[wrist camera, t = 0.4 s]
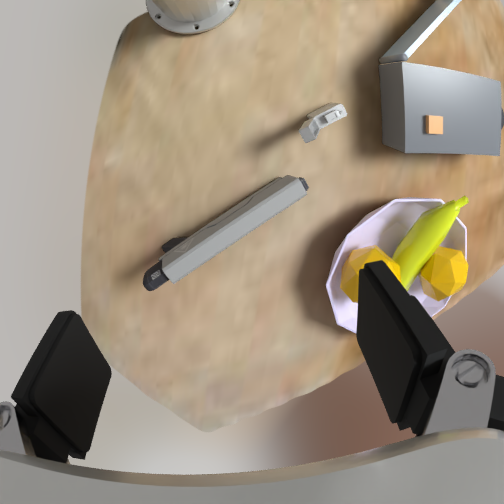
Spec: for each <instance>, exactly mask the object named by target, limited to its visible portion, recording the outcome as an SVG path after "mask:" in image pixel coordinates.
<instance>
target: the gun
mask: <svg viewBox="0 0 504 504" xmlns="http://www.w3.org/2000/svg"><path fill="white" fill-rule="evenodd" d="M308 188H309V187H308V185H307V183H306V181H305V179H304V178H301V177H299V178H296V177H293V176H290V175H286V176H285V177H283V178H282V177H279V178H277V179H276V180H274V181H273V182H271V183H269V184H268V185H266V186H265V187H263V188H262V189H260V190H259V191H257V192H255V193H254V194H252V195H251V196H249V197H248V198H246V199H245V200H243V201H242V202H240V203H239V204H237V205H236V206H234V207H233V208H231V209H230V210H228V211H227V212H225V213H224V214H222V215H221V216H219V217H218V218H216V219H215V220H213V221H212V222H210V223H209V224H207V225H206V226H204V227H203V228H201V229H200V230H198V231H197V232H196V233H194V234H193V235H191V236H190V237H188V238H173V239H171V240H170V241H169V242H167V243H166V244H164V245H163V246H162V249H163V251H164V252H165V254H164V255H163V256H161V257H160V258H159V262H158V263H157V264H155V265H154V266H153V267H151V268H150V269H148V270H147V271H146V273H145V275H144V278H143V285H144V287H145V288H146V289H147V290H148V291H153V290H155V289H157V288H158V287H159V286H161V285H162V284H164V283H165V282H167V281H168V280H170V281H171V282H172V283H173V284H175V283H176V282H177V281H179V280H180V279H182V278H183V277H185V276H186V275H188V274H189V273H191V272H192V271H194V270H195V269H196V268H198V267H199V266H201V265H202V264H204V263H205V262H207V261H208V260H210V259H211V258H213V257H214V256H216V255H217V254H219V253H220V252H222V251H223V250H225V249H226V248H228V247H229V246H230V245H232V244H233V243H235V242H236V241H238V240H239V239H241V238H242V237H244V236H245V235H247V234H248V233H250V232H251V231H253V230H254V229H256V228H257V227H259V226H260V225H262V224H263V223H265V222H266V221H268V220H269V219H271V218H272V217H274V216H275V215H277V214H278V213H280V212H281V211H283V210H284V209H286V208H288V207H289V206H291V205H292V204H294V203H295V202H297V201H298V200H300V199H301V198H303V197H304V196H306V195H307V192H306V191H307V189H308Z"/></svg>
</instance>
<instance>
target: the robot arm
mask: <svg viewBox="0 0 504 504" xmlns="http://www.w3.org/2000/svg"><path fill="white" fill-rule="evenodd" d="M239 1H240V0H146V6H147V10H148V12H149V14H150V16H151V17H152V19H153V20H154V21H155V22H156V23H157V24H158V25H159V26H161V27H163V28H164V29H166V30H169V31H171V32H174V33H179V34H196V33H202V32H205V31H209V30H211V29H213V28H216V27H218V26H219V25H221V24H222V23H224V22H225V21H226V20H227V19H228V18H229V17H231V15H232V14H233V13H234V11H235V10H236V8H237V6H238V4H239ZM229 5H233V7H230V6H229ZM159 16H161V18H160V19H158V17H159ZM195 27H199V28H198V29H197V30H196V29H195ZM356 335H357V341H358V344H359V346H360V348H361V351H362V353H363V355H364V358H365V360H366V362H367V365H368V367H369V369H370V372H371V374H372V376H373V379H374V381H375V384H376V386H377V388H378V391H379V393H380V396H381V398H382V401H383V403H384V406H385V408H386V411H387V413H388V416H389V419H390V421H391V422H392V423H396V422H397V424H398V427H399V429H400V430H403V429H406V428H409V427H411V430H412V432H413V433H414V434H416V436H415V437H414V438H411V439H408V440H404V441H400V442H397V443H393V444H389V445H386V446H382V447H379V448H375V449H371V450H368V451H364V452H360V453H356V454H352V455H348V456H343V457H339V458H334V459H329V460H324V461H319V462H314V463H309V464H303V465H297V466H291V467H285V468H278V469H270V470H261V471H252V472H240V473H225V474H202V475H170V474H145V473H132V472H121V471H112V470H103V469H96V468H89V467H82V466H77V465H71V464H70V463H69V460H68V455H70V456H71V457H73V458H78V459H85V456H86V452H88V451H89V450H90V447H91V443H92V439H93V435H94V432H95V428H96V425H97V421H98V417H99V414H100V411H101V407H102V404H103V401H104V397H105V394H106V391H107V388H108V385H109V382H110V378H111V368H110V366H109V364H108V363H107V361H106V360H105V358H104V356H103V355H102V353H101V351H100V350H99V348H98V346H97V345H96V343H95V341H94V340H93V338H92V336H91V335H90V333H89V331H88V329H87V328H86V326H85V324H84V322H83V320H82V318H81V317H80V315H78V314H76V313H75V312H74V311H63V312H58V314H57V315H56V316H55V318H54V320H53V321H52V323H51V324H50V326H49V328H48V329H47V331H46V333H45V334H44V336H43V338H42V340H41V341H40V343H39V345H38V347H37V349H36V350H35V352H34V353H33V355H32V357H31V359H30V361H29V363H28V365H27V366H26V368H25V370H24V372H23V374H22V376H21V378H20V379H19V381H18V383H17V385H16V387H15V389H14V391H13V393H12V396H11V398H12V399H13V400H14V401H15V402H16V403H17V405H16V406H15V407H14V406H13V405H12V404H11V403H10V402H1V403H0V504H504V377H502V376H499V375H496V373H495V367H494V364H493V362H492V361H491V360H490V359H489V357H488V356H486V355H485V354H483V353H482V352H479V351H476V350H470V349H466V350H460V351H458V352H456V353H455V351H454V350H453V349H452V347H451V345H450V344H449V343H448V341H447V340H446V338H445V337H444V335H443V334H442V332H441V331H440V330H439V328H438V327H437V325H436V324H435V322H434V321H433V320H432V318H431V317H430V315H429V314H428V313H427V311H426V310H425V309H424V307H423V306H422V305H421V303H420V302H419V301H418V299H417V298H416V297H415V296H412V295H411V296H410V295H409V293H408V292H407V291H406V289H405V288H404V287H403V285H402V284H401V283H400V281H399V280H398V279H397V277H396V276H395V275H394V273H393V272H392V271H391V270H390V268H389V267H388V266H387V265H386V263H385V262H384V261H383V260H379V261H374V262H369V263H365V264H364V268H363V269H360V270H359V284H358V311H357V330H356Z"/></svg>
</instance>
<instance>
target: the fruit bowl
mask: <svg viewBox="0 0 504 504" xmlns="http://www.w3.org/2000/svg"><path fill="white" fill-rule="evenodd" d="M467 203H469V202H468V198H467V197H466V196H463V197H462V198H460V199H459V200H457V201H455V200H452V201H450V202H447V203H444V202H443V201H442V200H441V199H431V198H413V197H407V198H400V199H394V200H393V201H391V202H389V203H387V204H385V205H383V206H381V207H380V208H378V209H376V210H374V211H372V212H370V213H368V214H367V215H366V216H365V217H364V218H363V219H362V220H361V221H360V222H359V223H358V224H357V225H356V226H355V227H354V228H353V229H352V230H351V231H350V232H349V233H348V235H347V236H346V237H345V239H344V240H343V242H342V243H341V244H340V246H339V247H338V249H337V250H336V252H335V255H334V258H333V262H332V265H331V269H330V272H329V276H328V279H327V283H326V287H327V291H328V294H329V298H330V301H331V305H332V308H333V312H334V315H335V319H336V322H337V324H338V325H340V326H342V327H344V328H346V329H348V330H350V331H352V332H354V333H356V330H357V311H358V284H359V270H360V269H363V268H364V264H365V263H369V262H374V261H379V260H383V261H384V262H385V263H386V265H387V266H388V267H389V268H390V270H391V271H392V272H393V273H394V275H395V276H396V277H397V279H398V280H399V281H400V283H401V284H402V285H403V287H404V288H405V289H406V291H407V292H408V293H409V295H410V296H411V295H412V296H415V297H416V298H417V299H418V301H419V302H420V303H421V305H422V306H423V307H424V309H425V310H426V311H427V313H428V314H429V315H430V317H432V316H433V315H435V314H436V313H437V312H439V311H440V310H441V309H443V308H444V307H445V306H446V304H447V302H448V301H449V299H450V297H451V295H453V294H455V293H457V292H459V291H460V290H461V289H462V288H463V286H464V285H465V283H466V278H467V271H468V263H467V261H466V258H467V231H466V227H465V226H464V224H463V223H462V222H461V221H460V220H459V219H458V217H457V215H458V213H459V212H460V208H461V207H462V206H464V205H465V204H467Z"/></svg>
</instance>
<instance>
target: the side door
mask: <svg viewBox="0 0 504 504" xmlns="http://www.w3.org/2000/svg"><path fill="white" fill-rule="evenodd" d="M460 1H461V0H436V1H435V2H434V3H433V4H432V5H431V6H430V7H429V8H428V9H427V10H426V11H425V12H424V13H423V14H422V15H421V16H420V17H419V18H418V19H417V21H416V22H415V23H414V24H413V25H412V26H411V27H410V28H409V29H408V30H407V31H406V32H405V33H404V34H403V35H402V36H401V37H400V38H399V39H398V40H397V41H396V42H395V43H394V45H393V46H392V47H391V48H390V49H389V50H388V51H387V52H386V53H385V54H384V55H383V56H382V57H381V58H379V62H380V63H381V64H386V63H393V62H401V61H407V60H408V58H409V57H410V55H411V54H412V53H413V52H414V51H415V50H416V49H417V48H418V47H419V46H420V45H421V43H422V42H423V41H424V40H425V39H426V38H427V37H428V36H429V35H430V34H431V33H432V31H433V30H434V29H435V28H436V27H437V26H438V25H439V24H440V23H441V22H442V21H443V20H444V18H445V17H446V16H447V15H448V14H449V13H450V12H451V11H452V10H453V9H454V8H455V7H456V5H457V4H458V3H459V2H460Z"/></svg>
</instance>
